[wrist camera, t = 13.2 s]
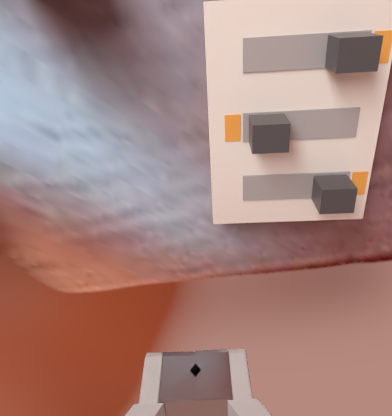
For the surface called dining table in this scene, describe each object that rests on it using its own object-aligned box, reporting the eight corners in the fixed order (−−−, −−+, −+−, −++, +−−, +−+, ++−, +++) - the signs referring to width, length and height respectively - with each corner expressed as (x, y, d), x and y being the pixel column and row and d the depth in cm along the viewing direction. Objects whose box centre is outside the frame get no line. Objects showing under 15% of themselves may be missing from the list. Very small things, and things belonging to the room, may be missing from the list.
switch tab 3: (311, 198, 36) (319, 214, 33) (313, 175, 35) (322, 190, 32) (343, 197, 36) (353, 212, 33) (346, 174, 35) (357, 188, 32)
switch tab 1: (248, 141, 33) (252, 154, 31) (249, 115, 32) (252, 125, 30) (282, 140, 33) (288, 152, 31) (284, 113, 32) (290, 123, 29)
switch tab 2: (324, 67, 30) (335, 73, 28) (328, 34, 29) (340, 38, 26) (362, 65, 30) (377, 71, 27) (367, 32, 29) (383, 35, 26)
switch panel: (212, 205, 42) (213, 225, 38) (204, 1, 32) (203, 1, 28) (349, 200, 41) (363, 219, 37) (383, -11, 31) (406, -12, 28)
